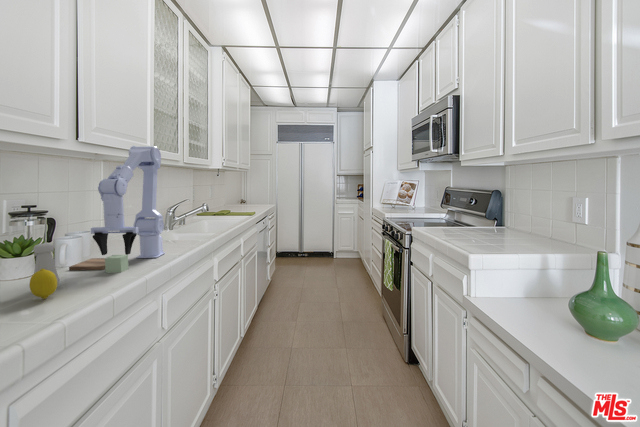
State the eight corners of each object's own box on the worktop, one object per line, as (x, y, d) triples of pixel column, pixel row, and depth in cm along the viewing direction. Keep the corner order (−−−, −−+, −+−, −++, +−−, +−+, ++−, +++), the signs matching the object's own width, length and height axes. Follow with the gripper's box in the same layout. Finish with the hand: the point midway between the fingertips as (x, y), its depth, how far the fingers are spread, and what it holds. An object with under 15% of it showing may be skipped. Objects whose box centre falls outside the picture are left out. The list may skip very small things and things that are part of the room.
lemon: (46, 302, 84) (44, 271, 83) (24, 302, 84) (22, 271, 83) (63, 295, 90) (61, 266, 89) (43, 295, 90) (41, 266, 89)
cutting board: (91, 261, 128) (91, 258, 128) (121, 260, 129) (121, 257, 129) (69, 270, 115) (69, 266, 115) (102, 269, 116) (102, 266, 116)
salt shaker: (38, 294, 90) (34, 246, 89) (29, 290, 94) (25, 244, 92) (63, 288, 95) (60, 243, 94) (54, 285, 98) (51, 241, 97)
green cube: (113, 269, 117) (112, 255, 117) (128, 268, 118) (127, 254, 117) (105, 272, 112) (104, 258, 112) (121, 272, 113) (120, 257, 112)
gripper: (84, 215, 109) (86, 257, 110) (130, 215, 110) (132, 256, 111) (96, 213, 116) (99, 252, 117) (140, 213, 117) (142, 252, 118)
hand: (116, 254), depth 114 cm, fingers open, 7 cm apart
